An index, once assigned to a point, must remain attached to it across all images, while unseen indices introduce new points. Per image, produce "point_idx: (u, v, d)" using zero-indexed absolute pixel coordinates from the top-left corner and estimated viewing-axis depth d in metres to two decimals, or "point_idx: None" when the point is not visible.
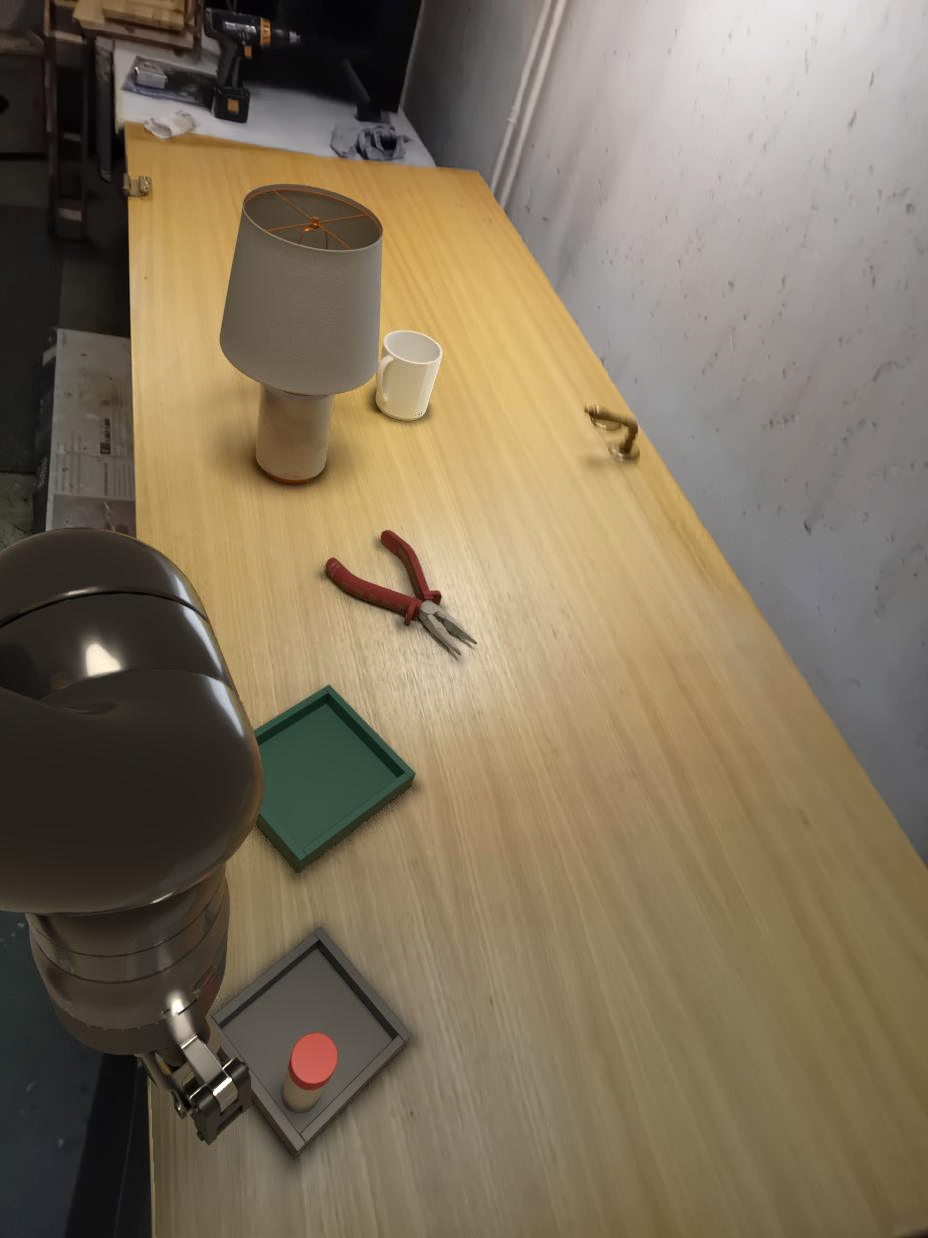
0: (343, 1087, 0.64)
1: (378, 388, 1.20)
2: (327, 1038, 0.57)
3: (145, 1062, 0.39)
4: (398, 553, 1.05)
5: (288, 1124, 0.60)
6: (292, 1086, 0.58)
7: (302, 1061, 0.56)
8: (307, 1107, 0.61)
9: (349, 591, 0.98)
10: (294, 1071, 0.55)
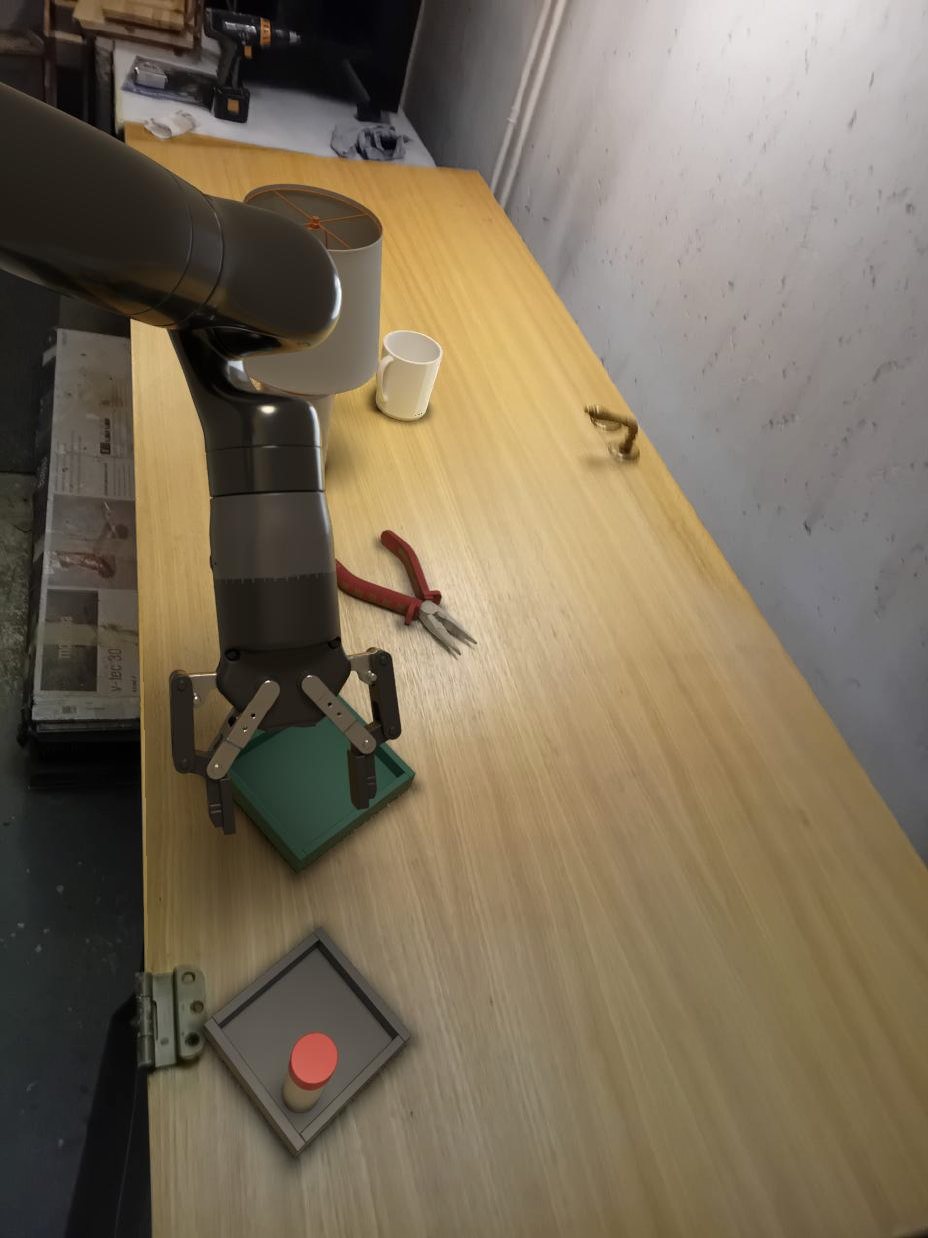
0: (343, 1087, 0.64)
1: (378, 388, 1.20)
2: (327, 1038, 0.57)
3: (334, 695, 0.52)
4: (398, 553, 1.05)
5: (288, 1124, 0.60)
6: (292, 1086, 0.58)
7: (302, 1061, 0.56)
8: (307, 1107, 0.61)
9: (349, 591, 0.98)
10: (294, 1071, 0.55)
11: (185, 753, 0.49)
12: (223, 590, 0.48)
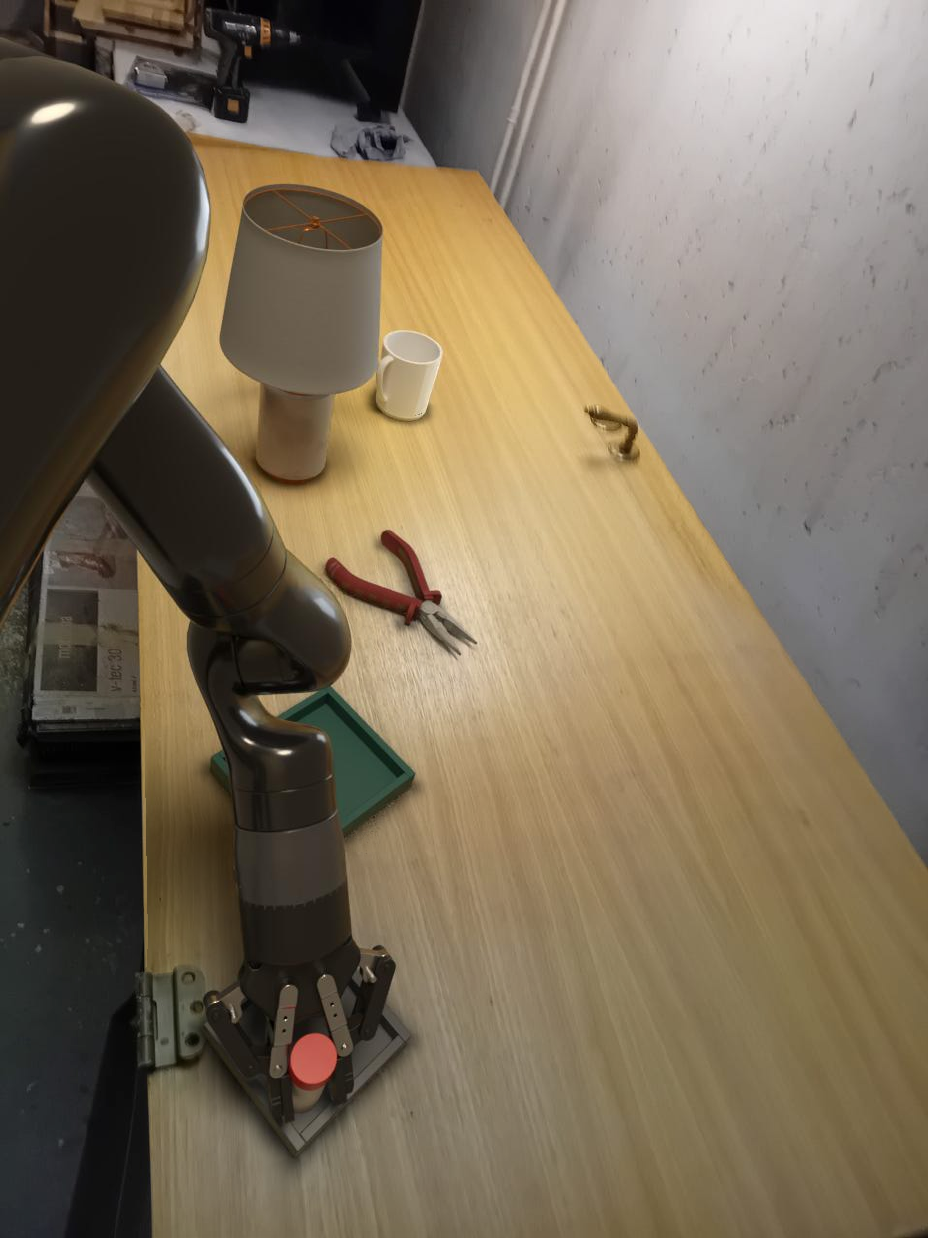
0: None
1: (378, 388, 1.20)
2: (326, 1038, 0.57)
3: (338, 998, 0.57)
4: (398, 553, 1.05)
5: (288, 1124, 0.60)
6: (292, 1086, 0.58)
7: (301, 1061, 0.56)
8: (307, 1107, 0.61)
9: (349, 591, 0.98)
10: (293, 1071, 0.55)
11: (251, 1060, 0.55)
12: (247, 911, 0.54)
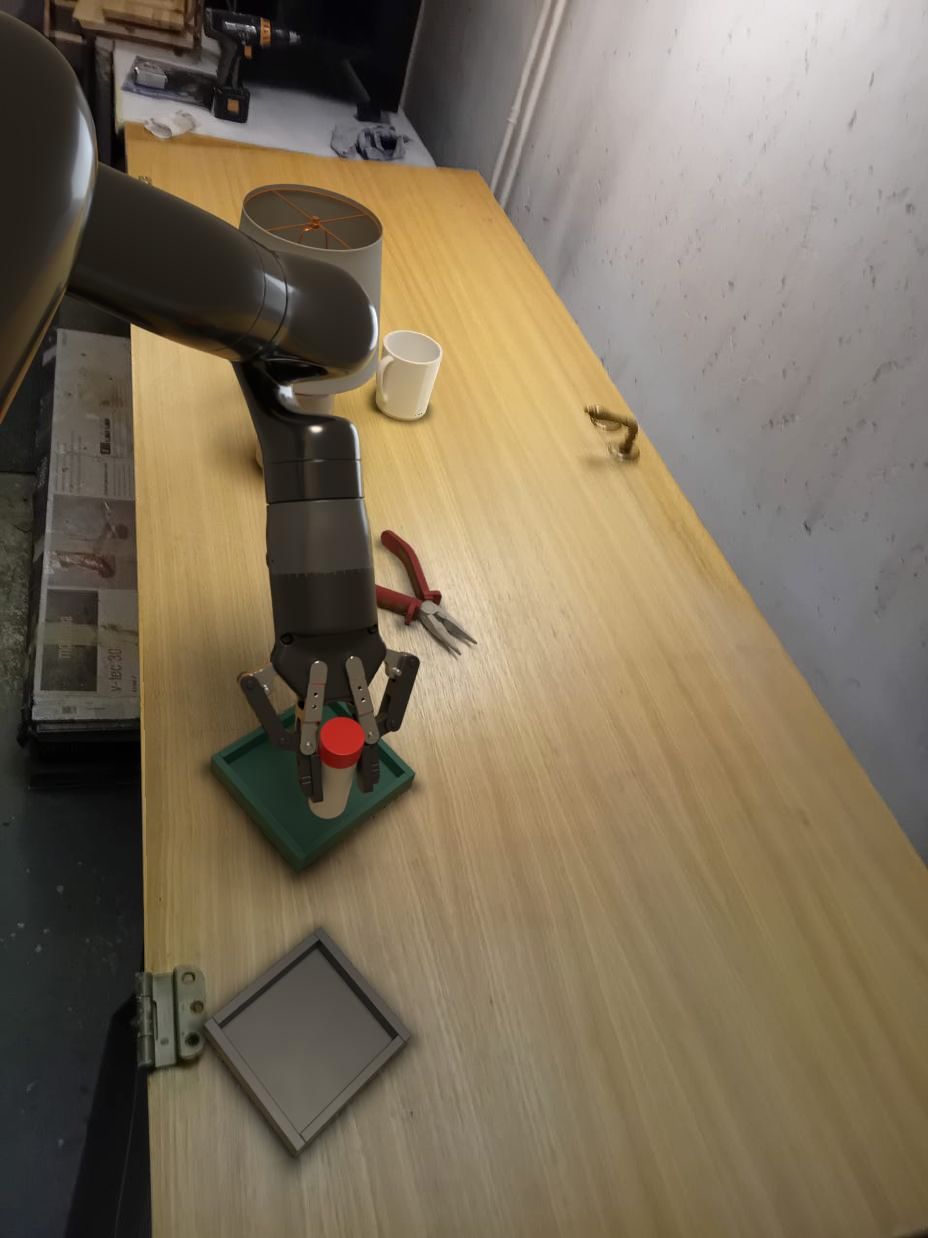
0: (343, 1087, 0.64)
1: (378, 388, 1.20)
2: (354, 722, 0.60)
3: (365, 682, 0.59)
4: (398, 553, 1.05)
5: (288, 1124, 0.60)
6: None
7: (331, 737, 0.58)
8: (334, 808, 0.64)
9: None
10: (323, 744, 0.58)
11: (283, 733, 0.58)
12: (279, 583, 0.57)
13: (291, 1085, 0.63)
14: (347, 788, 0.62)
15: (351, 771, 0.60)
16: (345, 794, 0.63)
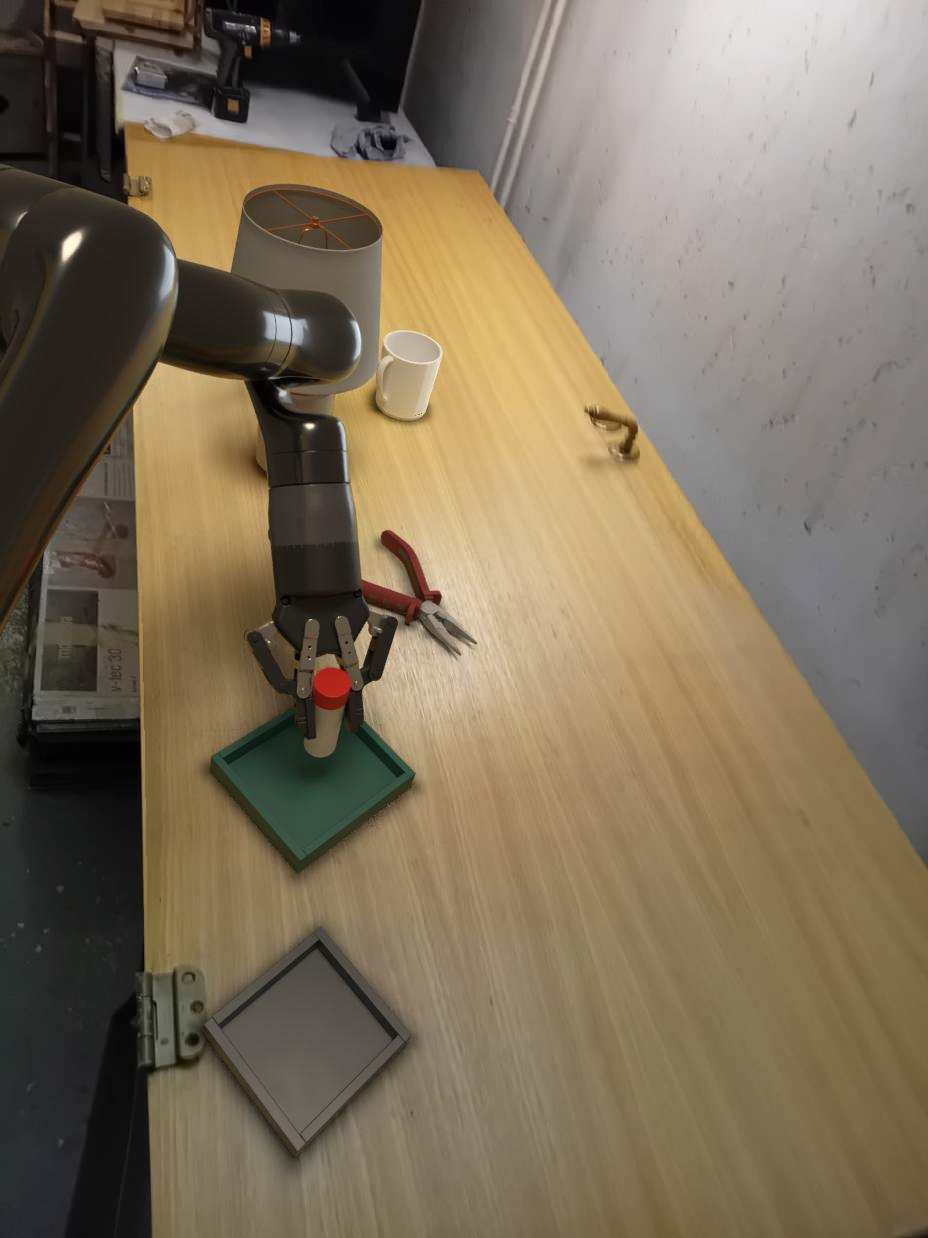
0: (343, 1087, 0.64)
1: (378, 388, 1.20)
2: (342, 671, 0.71)
3: (351, 638, 0.71)
4: (398, 553, 1.05)
5: (288, 1124, 0.60)
6: None
7: (322, 682, 0.70)
8: (325, 747, 0.75)
9: None
10: (316, 688, 0.69)
11: (282, 679, 0.69)
12: (279, 553, 0.68)
13: (291, 1085, 0.63)
14: (336, 729, 0.74)
15: (339, 713, 0.72)
16: (335, 735, 0.74)
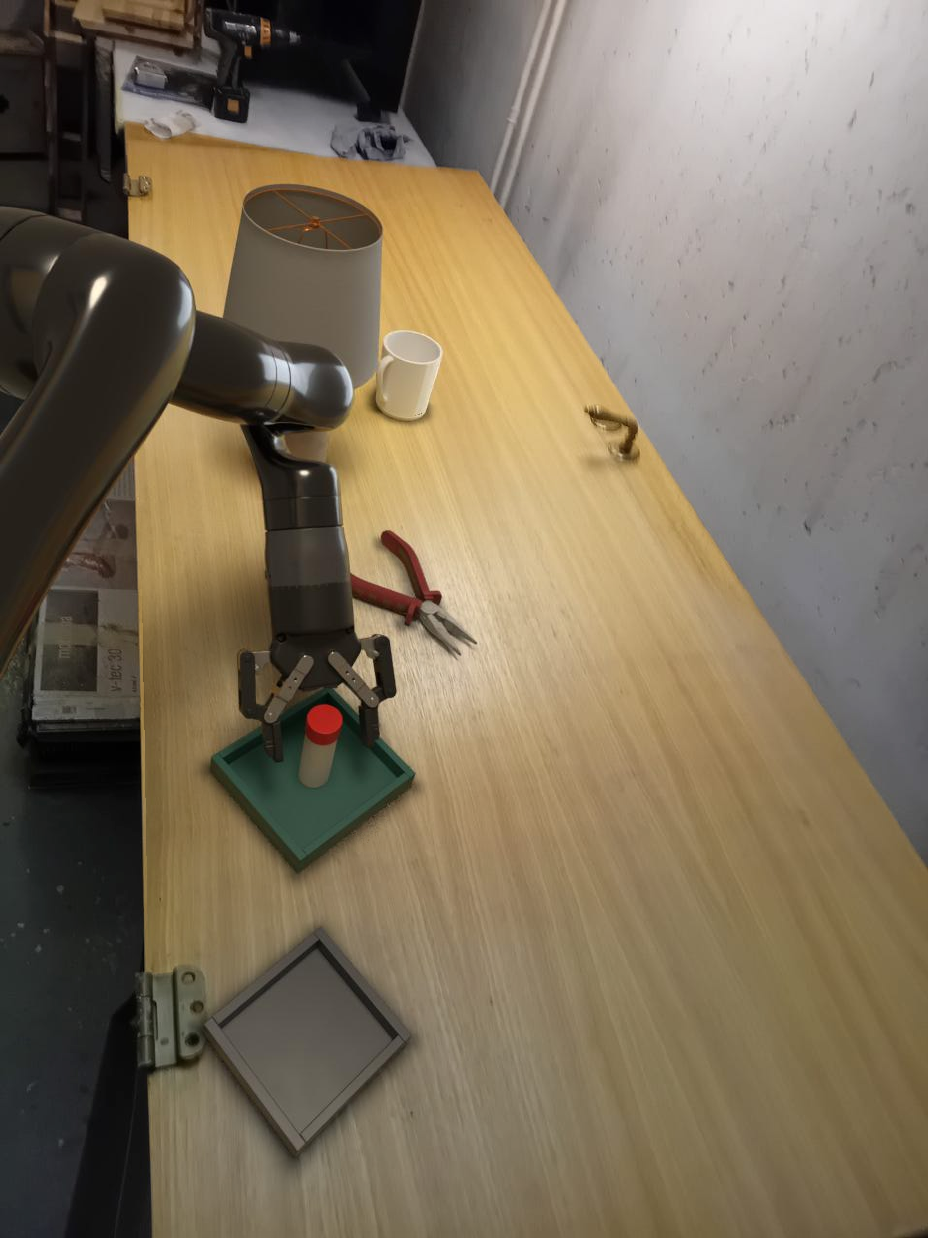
0: (343, 1087, 0.64)
1: (378, 388, 1.20)
2: (334, 708, 0.75)
3: (350, 666, 0.75)
4: (398, 553, 1.05)
5: (288, 1124, 0.60)
6: (307, 748, 0.76)
7: (315, 720, 0.74)
8: (318, 779, 0.79)
9: None
10: (309, 725, 0.73)
11: (250, 704, 0.72)
12: (275, 593, 0.72)
13: (291, 1085, 0.63)
14: (329, 762, 0.78)
15: (332, 748, 0.76)
16: (327, 767, 0.79)
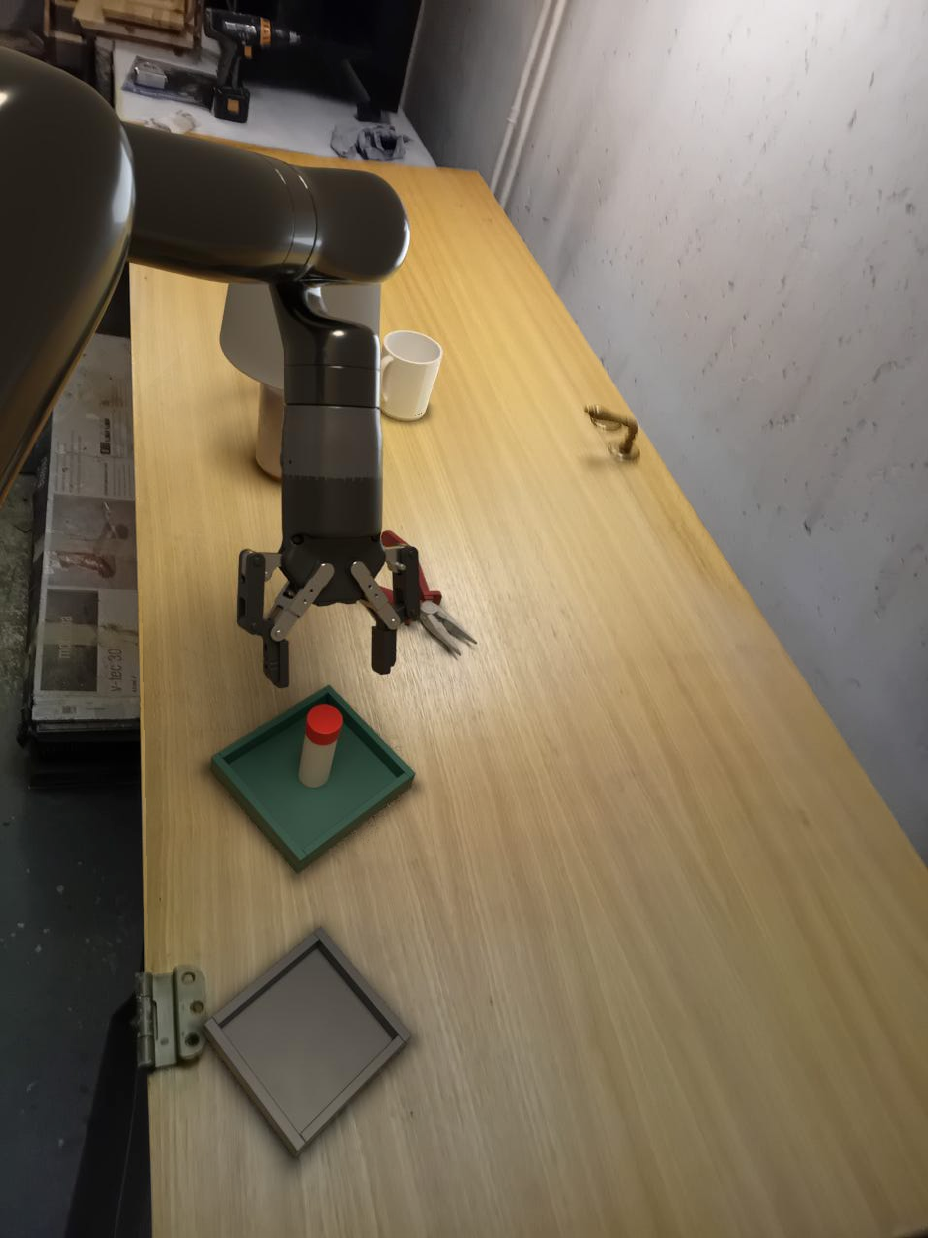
0: (343, 1087, 0.64)
1: None
2: (334, 708, 0.75)
3: (373, 579, 0.63)
4: None
5: (288, 1124, 0.60)
6: (307, 748, 0.76)
7: (315, 720, 0.74)
8: (318, 779, 0.79)
9: None
10: (309, 725, 0.73)
11: (255, 618, 0.59)
12: (296, 484, 0.58)
13: (291, 1085, 0.63)
14: (329, 762, 0.78)
15: (332, 748, 0.76)
16: (327, 767, 0.79)
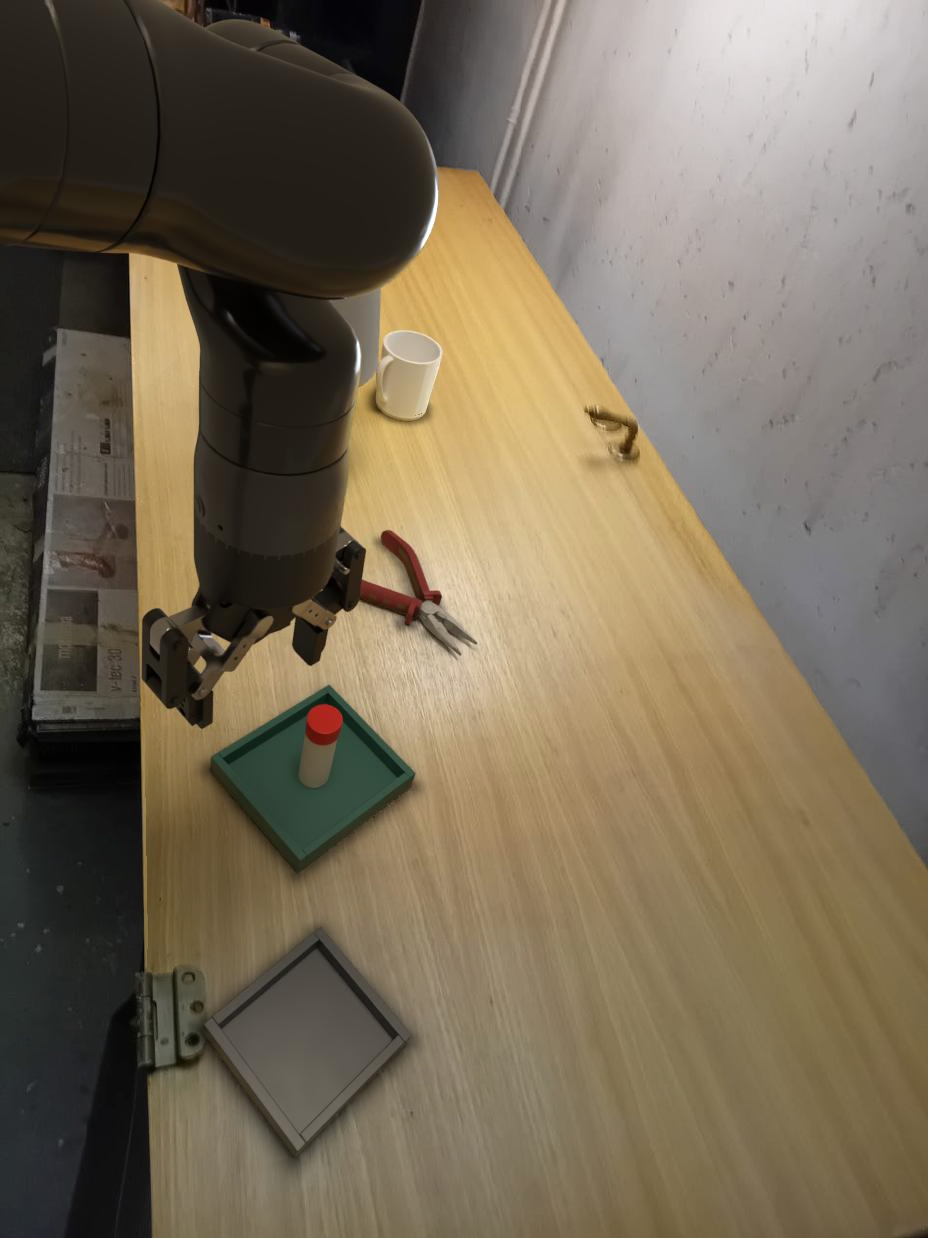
0: (343, 1087, 0.64)
1: (378, 388, 1.20)
2: (334, 708, 0.75)
3: (315, 603, 0.49)
4: (398, 553, 1.05)
5: (288, 1124, 0.60)
6: (307, 748, 0.76)
7: (315, 720, 0.74)
8: (318, 779, 0.79)
9: None
10: (309, 725, 0.73)
11: (176, 693, 0.45)
12: (232, 556, 0.40)
13: (291, 1085, 0.63)
14: (329, 762, 0.78)
15: (332, 748, 0.76)
16: (327, 767, 0.79)
